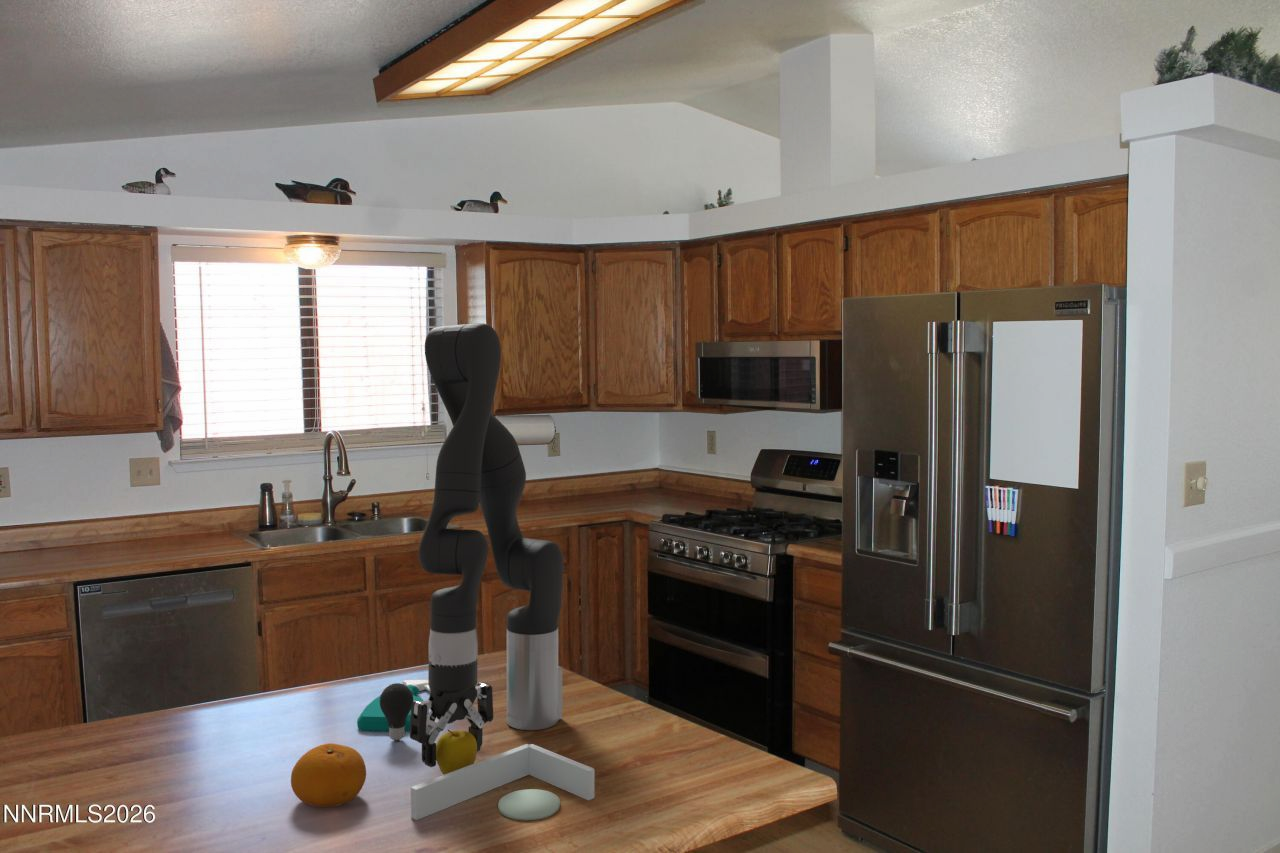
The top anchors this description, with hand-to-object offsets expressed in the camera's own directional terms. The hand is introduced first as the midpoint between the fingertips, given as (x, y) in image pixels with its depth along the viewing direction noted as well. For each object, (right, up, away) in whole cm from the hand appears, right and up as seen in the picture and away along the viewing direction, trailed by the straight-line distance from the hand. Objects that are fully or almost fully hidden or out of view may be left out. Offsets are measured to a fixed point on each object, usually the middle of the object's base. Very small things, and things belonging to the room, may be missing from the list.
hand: (452, 757), depth 160 cm
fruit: (-17, -4, -8) cm, 19 cm away
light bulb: (-12, -2, +15) cm, 19 cm away
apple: (+1, -3, 0) cm, 3 cm away
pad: (+13, -4, -10) cm, 17 cm away
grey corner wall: (+10, -4, -10) cm, 14 cm away
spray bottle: (-15, -1, +31) cm, 34 cm away
